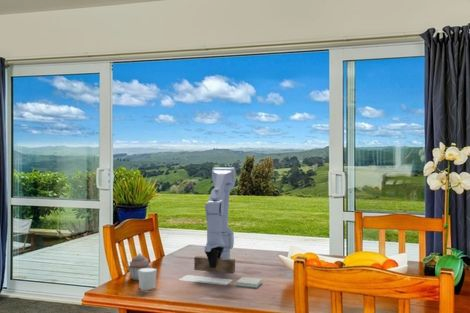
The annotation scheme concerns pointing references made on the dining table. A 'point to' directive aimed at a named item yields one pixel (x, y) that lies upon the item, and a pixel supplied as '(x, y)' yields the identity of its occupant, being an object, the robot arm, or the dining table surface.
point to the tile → (249, 282)
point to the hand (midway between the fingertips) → (214, 266)
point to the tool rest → (206, 280)
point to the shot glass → (147, 278)
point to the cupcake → (138, 265)
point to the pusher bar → (221, 265)
